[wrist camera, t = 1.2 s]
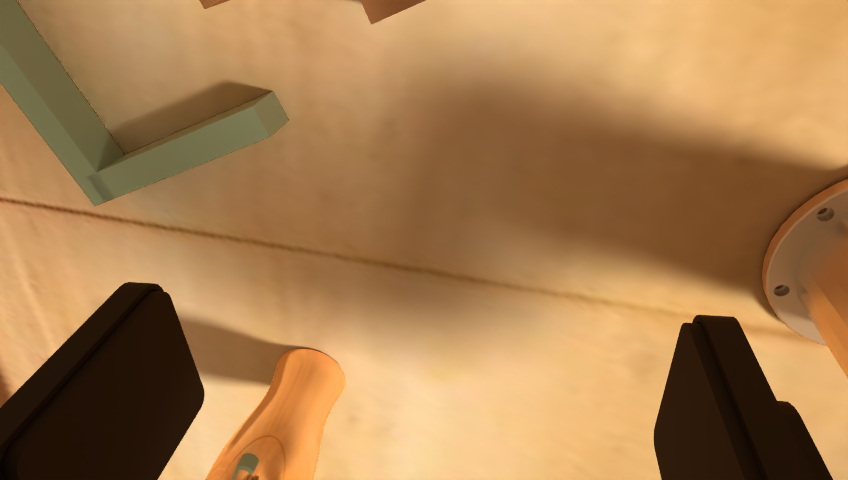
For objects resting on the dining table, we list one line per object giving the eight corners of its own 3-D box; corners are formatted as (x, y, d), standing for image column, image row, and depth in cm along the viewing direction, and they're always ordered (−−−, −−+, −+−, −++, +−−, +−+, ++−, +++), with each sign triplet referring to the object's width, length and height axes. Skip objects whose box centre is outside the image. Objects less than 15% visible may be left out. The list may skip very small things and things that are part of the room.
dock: (99, -225, 28) (56, -237, 26) (288, 119, 36) (269, 137, 34) (-78, -88, 33) (-128, -86, 31) (122, 186, 41) (94, 206, 39)
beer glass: (257, 364, 49) (159, 527, 36) (310, 331, 46) (221, 498, 33) (313, 413, 51) (239, 583, 38) (367, 384, 48) (305, 561, 35)
